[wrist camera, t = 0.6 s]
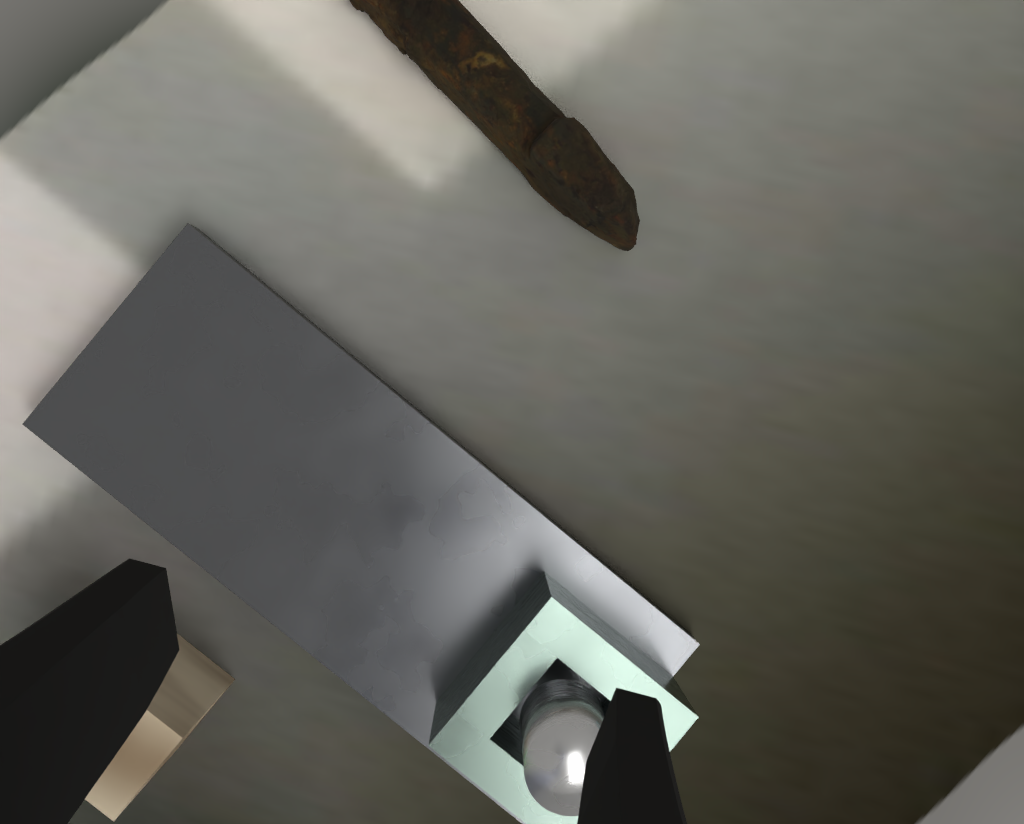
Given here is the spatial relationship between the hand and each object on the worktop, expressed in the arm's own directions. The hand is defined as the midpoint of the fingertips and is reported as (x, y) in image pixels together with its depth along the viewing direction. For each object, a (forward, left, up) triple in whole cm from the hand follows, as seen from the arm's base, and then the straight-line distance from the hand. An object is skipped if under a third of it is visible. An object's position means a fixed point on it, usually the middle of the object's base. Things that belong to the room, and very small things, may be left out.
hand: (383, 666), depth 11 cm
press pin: (-5, -10, -19) cm, 22 cm away
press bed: (-5, +2, -24) cm, 24 cm away
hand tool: (+15, +10, -24) cm, 30 cm away
